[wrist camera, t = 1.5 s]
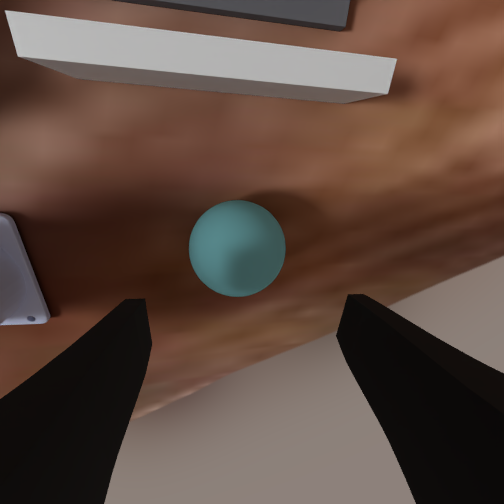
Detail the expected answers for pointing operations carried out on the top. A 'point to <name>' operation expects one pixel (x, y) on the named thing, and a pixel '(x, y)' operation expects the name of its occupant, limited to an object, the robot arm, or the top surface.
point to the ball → (237, 248)
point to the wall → (196, 60)
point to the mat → (268, 10)
